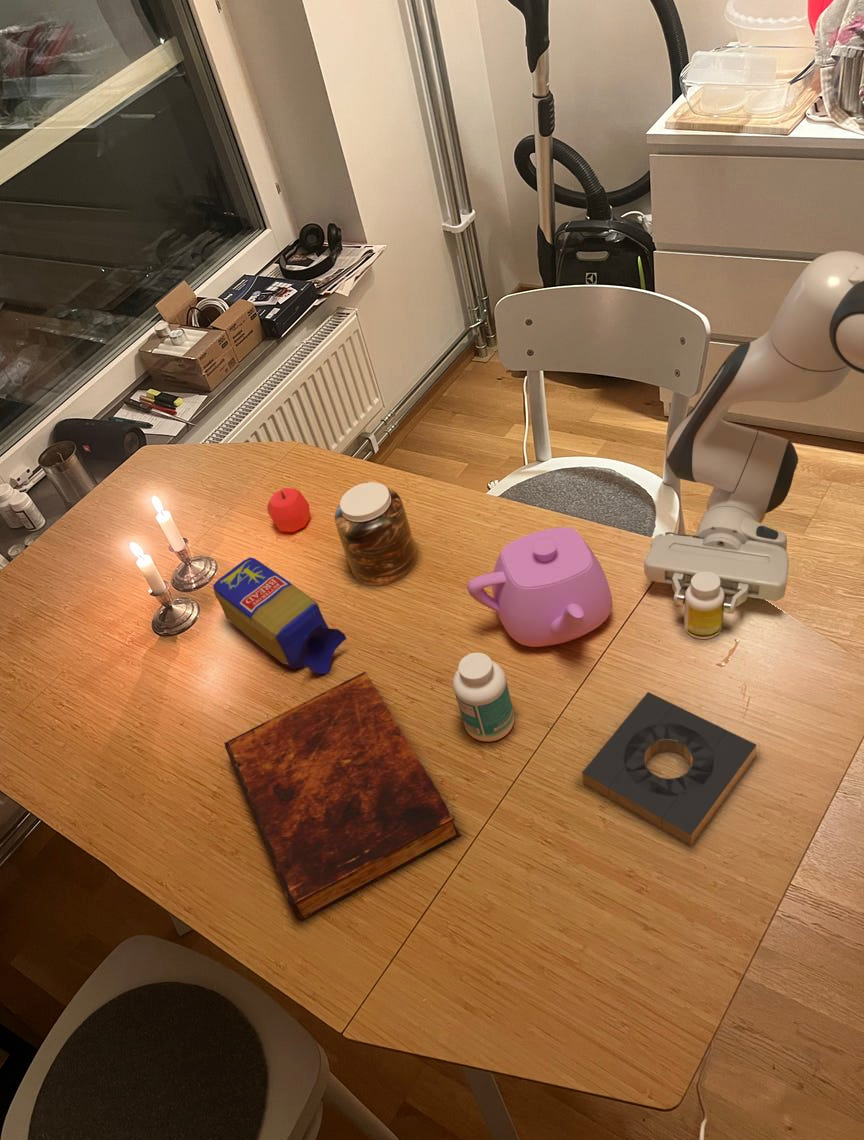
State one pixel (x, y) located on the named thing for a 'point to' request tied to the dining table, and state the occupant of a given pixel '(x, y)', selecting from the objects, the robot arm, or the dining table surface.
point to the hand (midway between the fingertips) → (703, 606)
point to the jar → (375, 534)
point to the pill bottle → (483, 697)
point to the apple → (289, 509)
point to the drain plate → (673, 800)
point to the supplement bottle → (704, 606)
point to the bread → (277, 616)
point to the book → (338, 795)
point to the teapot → (546, 588)
